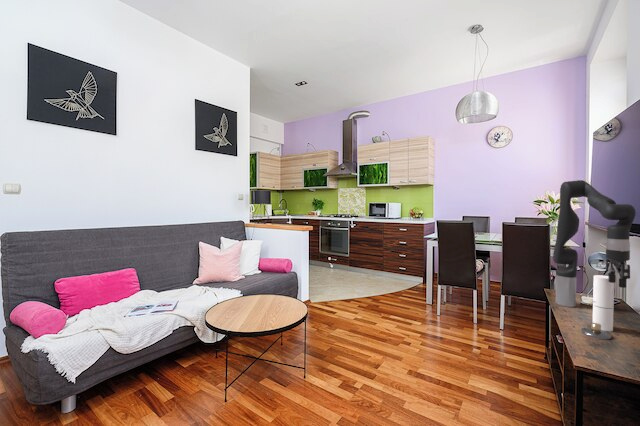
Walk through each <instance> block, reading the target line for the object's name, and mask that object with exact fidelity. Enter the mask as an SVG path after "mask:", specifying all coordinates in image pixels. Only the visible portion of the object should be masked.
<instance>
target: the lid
mask: <svg viewBox="0 0 640 426" xmlns="http://www.w3.org/2000/svg"><path fill="white" fill-rule="evenodd" d="M590 325H591V327H583V328H581V333H582V334H584V335H585V336H587V337H591V338H593V339H597V338H598V339H599V340H607V341H608V340H612V335H611V334H610V333H609V332H608V331H603V330H601V324H598V323H593V322H591V324H590Z"/></svg>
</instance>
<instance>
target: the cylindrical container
mask: <svg viewBox="0 0 640 426" xmlns="http://www.w3.org/2000/svg"><path fill="white" fill-rule="evenodd" d="M592 288H593V289H592V291H593V292H592V294H593V295H592V323H598V324H601V330H602V331H605V332H613V331H614V307H615V306H614V305H615V304H614V303H615V301H614V298H615V292H614V291H615V283H611V282H609V275H601V274H595V275H593V285H592Z"/></svg>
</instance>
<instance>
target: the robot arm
mask: <svg viewBox="0 0 640 426" xmlns="http://www.w3.org/2000/svg"><path fill="white" fill-rule="evenodd" d="M583 197H584V198H587V199H586V200H587V203H588V205H589V206H590V207H592V208H593V209H595V210H596V211H598V213H600V215H601V217H603V218H604V219H605V220H609V221H617V223H616V224H613V225H609V226H608V227H606V241H605V258H606V259H605V272H607V274H608V276H609V282H611V283H614V284H615V283H616V279H617V278H616V275H617V276H618V287H619V288H623V289H625V288H627V280H631V265H630V264H626V262H627V261H630V260H631V242H630V241H631V240H630V231H631V227H632V225H633V222H634V220H635V218H636V214H637V212H636V208H635V207H634V206H633V205H632V204H629V203H628V204H627V203H621V204H620V203H618V204H617V203H616V201H615V200H614V199H612V198H610V197H608V196H606V195H604V194H603V193H601V192H600V191H598V190H597V189H596V188H594V187H593V186H592V184H590V183H589V182H587V181H586V180H581V179H580V180H578V179H577V180H570V181H564V182H562V183H561V185H560V189H559V212H558V219H557V229H556V239H555V244H554V249H553V254H552V259H553V262H554V263H555V264H557V265H567V266H565V267H564V268H559V269H556V272H555V304H557V305H558V306H562V307H568V308H574V307H576V306H577V270H578V269H577V268H578V260H579V256H578V251H577V250H576V249H574V248H573V249H572V248H564V246H565V245H566V243H567V242H569V240H570V239H572V238H573V237H574V236H576V234H577V233H578V232H579V227H580V217H579V216H578V214H577V213H576V212H575V210H574V209H573V208H572V204H571V203H572V202H571V201H572V199H575V198H583Z"/></svg>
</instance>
